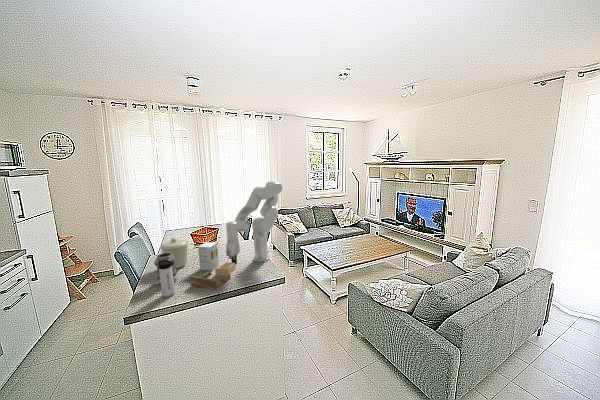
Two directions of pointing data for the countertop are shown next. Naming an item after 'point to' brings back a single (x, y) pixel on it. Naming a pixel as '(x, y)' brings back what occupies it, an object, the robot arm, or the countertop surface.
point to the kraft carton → (225, 269)
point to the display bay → (207, 281)
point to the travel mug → (166, 278)
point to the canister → (176, 250)
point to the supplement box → (208, 256)
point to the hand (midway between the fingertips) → (234, 264)
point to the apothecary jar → (166, 257)
